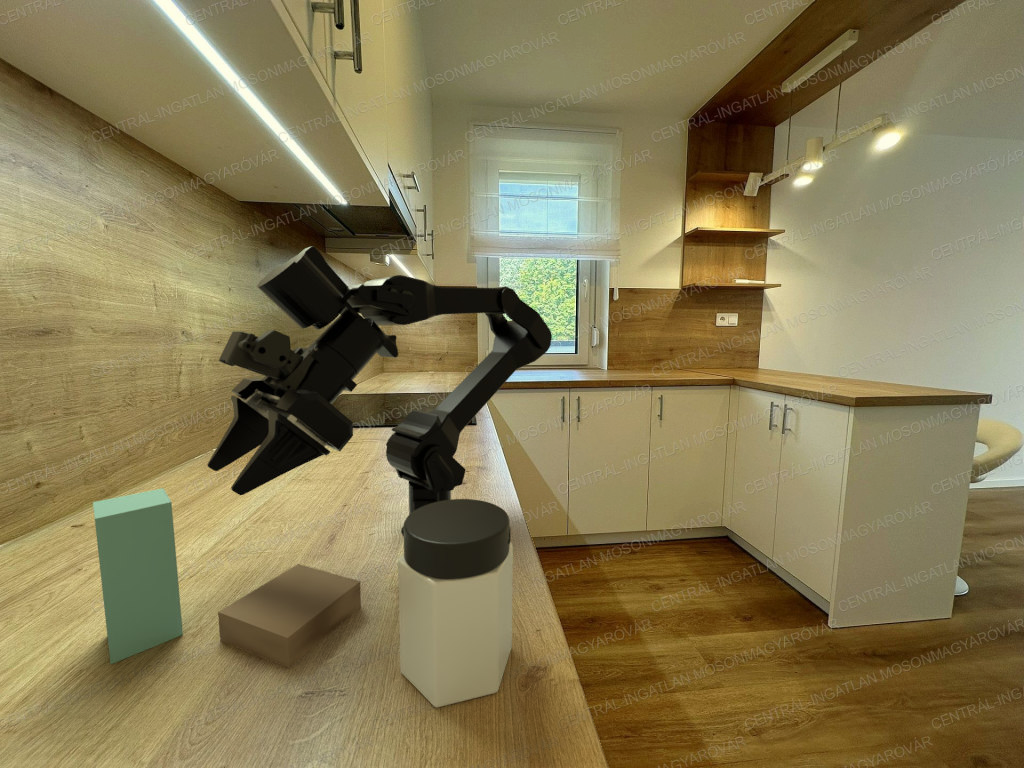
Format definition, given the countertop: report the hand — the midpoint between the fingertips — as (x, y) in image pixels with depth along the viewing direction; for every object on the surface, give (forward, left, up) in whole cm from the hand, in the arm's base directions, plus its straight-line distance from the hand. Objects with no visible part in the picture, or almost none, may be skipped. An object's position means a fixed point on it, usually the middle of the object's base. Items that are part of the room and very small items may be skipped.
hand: (222, 479), depth 39 cm
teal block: (+5, -4, -12) cm, 14 cm away
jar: (+7, +23, -13) cm, 27 cm away
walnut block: (+3, +8, -13) cm, 15 cm away
